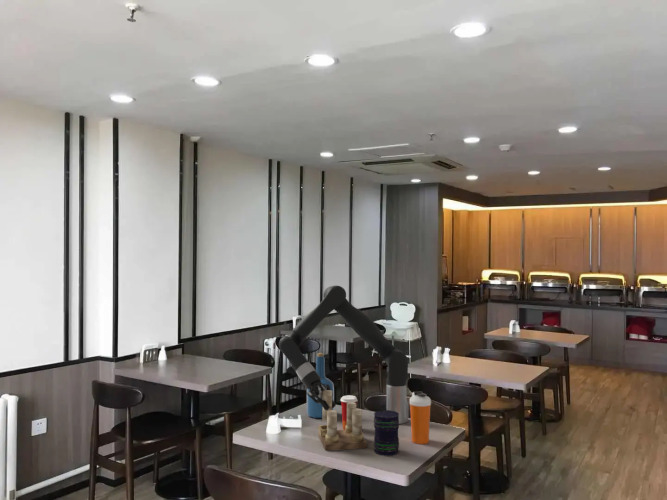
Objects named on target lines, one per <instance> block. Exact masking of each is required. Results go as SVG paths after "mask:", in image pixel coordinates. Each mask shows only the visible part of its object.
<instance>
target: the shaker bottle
mask: <svg viewBox="0 0 667 500" xmlns="http://www.w3.org/2000/svg"><path fill="white" fill-rule="evenodd" d="M427 395H428V394H427V393H423V391H412V395H411V396H410V398H409V402H408V405H409V407H410V409H409V411H410V428H411V429H410V431H411V432H410V433H411V442H412V443H414V444H418V445H425V444H426V445H427V444H428V443H429V442H430V424H431V423H430V422H431V420H430V419H431V405H432V399H431V398H430V397H429V396H427Z"/></svg>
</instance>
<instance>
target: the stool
mask: <svg viewBox="0 0 667 500" xmlns="http://www.w3.org/2000/svg"><path fill="white" fill-rule="evenodd" d="M318 439H319V441H320V443H321V445H322V447H323V449H324V450H325V451H326V452H327V451H339V450H340V451H341V450H343V451H344V450H354V449H367V448H368V441H367V440H366V439H365V437H364V432H363V410H362V408H357V409H356V403H354V402H349V403H347V425H346V426H345V430H344V429H338V411H337V410H335V409H334V410H329V411H327V421H326V424H320V425H318Z"/></svg>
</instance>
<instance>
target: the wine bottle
mask: <svg viewBox="0 0 667 500" xmlns="http://www.w3.org/2000/svg"><path fill="white" fill-rule="evenodd" d="M315 359H316V360H315V365H316V366H315V371H316V372H317V373H318V375H319V376H320V377H321V383H322V384H324V385H327V384H328V385H329V386H330V389H331V391H332V393H333V396H332V400H333V401H334V402H335V386H334V385H335V384H334V382H333V381H332V380H330V379H329V378H327V376H326V372H325V371H326V370H325V368H326V367H325V363H326V361H325V360H326V359H325V356H324V353H322V352H319V353H317V355H316V357H315ZM309 391H310V389H307V388H306V414H307V416H308V417H310V418H314V419H322V410H323V406H322V405H321V404H320V403H315V402H314V401H313V400H312V399H311V398H310V397H309V396H308V395H307V393H308V392H309ZM315 399H316V398H315ZM316 400H317V399H316ZM332 410H335V407H334V408H332Z"/></svg>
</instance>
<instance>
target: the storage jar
mask: <svg viewBox="0 0 667 500" xmlns="http://www.w3.org/2000/svg"><path fill="white" fill-rule="evenodd" d="M380 406H384V404H383V403H380ZM373 415H374V417H373V427H374V437H373V441H374V442H373V446H374V450H373V451H374V454H376V455H378V456H382V457H383V456H385V457H393V456H396V455H398V454H399V452H400V451H399V448H400V447H399V446H400V438H399V428H400V424H399V417H398V416H399V413H397V412H395V411H390V410H387V409H385V410H384V409H383V410H377V411H375V412H374V413H373Z"/></svg>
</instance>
